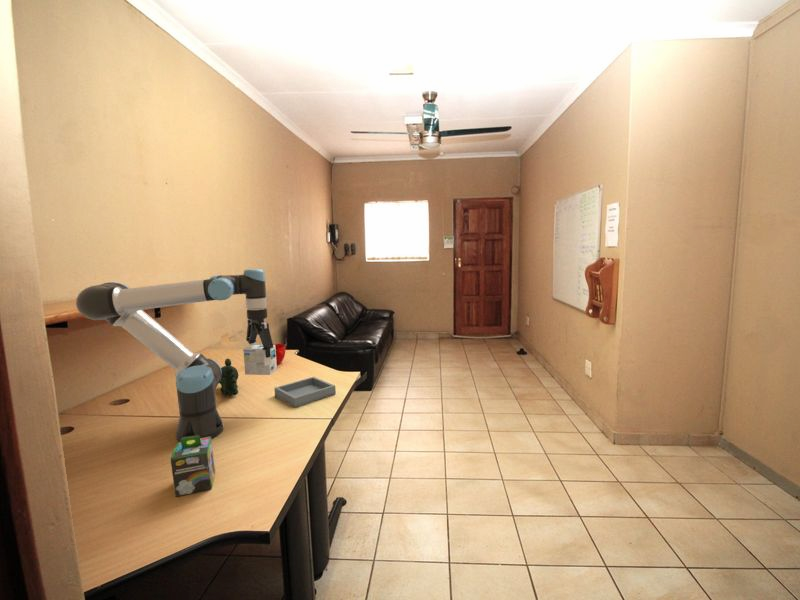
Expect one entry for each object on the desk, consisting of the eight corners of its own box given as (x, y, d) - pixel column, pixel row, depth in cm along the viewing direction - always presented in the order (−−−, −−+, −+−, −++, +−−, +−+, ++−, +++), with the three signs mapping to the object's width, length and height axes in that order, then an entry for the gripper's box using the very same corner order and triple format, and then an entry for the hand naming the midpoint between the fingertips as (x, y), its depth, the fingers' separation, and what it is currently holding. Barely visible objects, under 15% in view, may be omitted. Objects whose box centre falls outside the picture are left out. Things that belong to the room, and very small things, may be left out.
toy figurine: (243, 401, 172) (237, 380, 194) (240, 361, 168) (234, 344, 190) (220, 406, 168) (216, 383, 189) (216, 365, 164) (213, 346, 185)
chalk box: (215, 472, 115) (211, 424, 113) (212, 490, 107) (207, 439, 105) (180, 479, 112) (175, 430, 110) (174, 498, 104) (168, 445, 102)
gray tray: (295, 407, 160) (294, 398, 160) (275, 396, 173) (274, 387, 173) (335, 394, 174) (335, 385, 173) (314, 384, 187) (313, 376, 186)
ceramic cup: (271, 370, 210) (270, 352, 209) (258, 363, 223) (257, 346, 222) (293, 364, 219) (292, 347, 218) (280, 359, 232) (279, 342, 230)
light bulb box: (277, 370, 159) (275, 344, 157) (270, 375, 152) (268, 348, 151) (252, 369, 160) (250, 344, 158) (244, 375, 153) (242, 348, 152)
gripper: (280, 310, 147) (283, 366, 149) (253, 304, 164) (256, 354, 167) (261, 313, 141) (265, 370, 144) (235, 306, 159) (239, 358, 162)
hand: (260, 362), depth 156 cm, fingers closed on light bulb box, 12 cm apart
